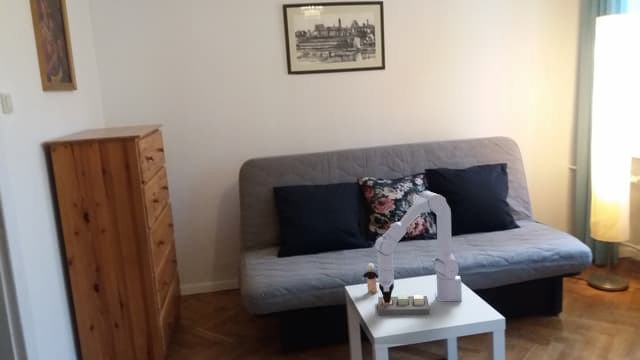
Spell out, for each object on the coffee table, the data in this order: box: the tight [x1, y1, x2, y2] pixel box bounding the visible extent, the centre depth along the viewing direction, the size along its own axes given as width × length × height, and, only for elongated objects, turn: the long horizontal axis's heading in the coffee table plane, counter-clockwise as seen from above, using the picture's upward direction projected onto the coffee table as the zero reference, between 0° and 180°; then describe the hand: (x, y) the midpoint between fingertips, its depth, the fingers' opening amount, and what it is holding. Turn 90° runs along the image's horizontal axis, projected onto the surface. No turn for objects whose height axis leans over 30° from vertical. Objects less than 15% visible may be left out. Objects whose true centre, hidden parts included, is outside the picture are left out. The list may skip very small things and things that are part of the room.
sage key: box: [397, 294, 409, 305], centre depth 195 cm, size 4×4×3 cm
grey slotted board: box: [377, 295, 431, 317], centre depth 195 cm, size 19×12×2 cm, turn 83°
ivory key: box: [413, 294, 424, 305], centre depth 194 cm, size 4×4×3 cm
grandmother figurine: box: [361, 262, 379, 295], centre depth 213 cm, size 8×4×13 cm, turn 84°
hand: (387, 302), depth 196 cm, fingers closed, pressing on terracotta key
